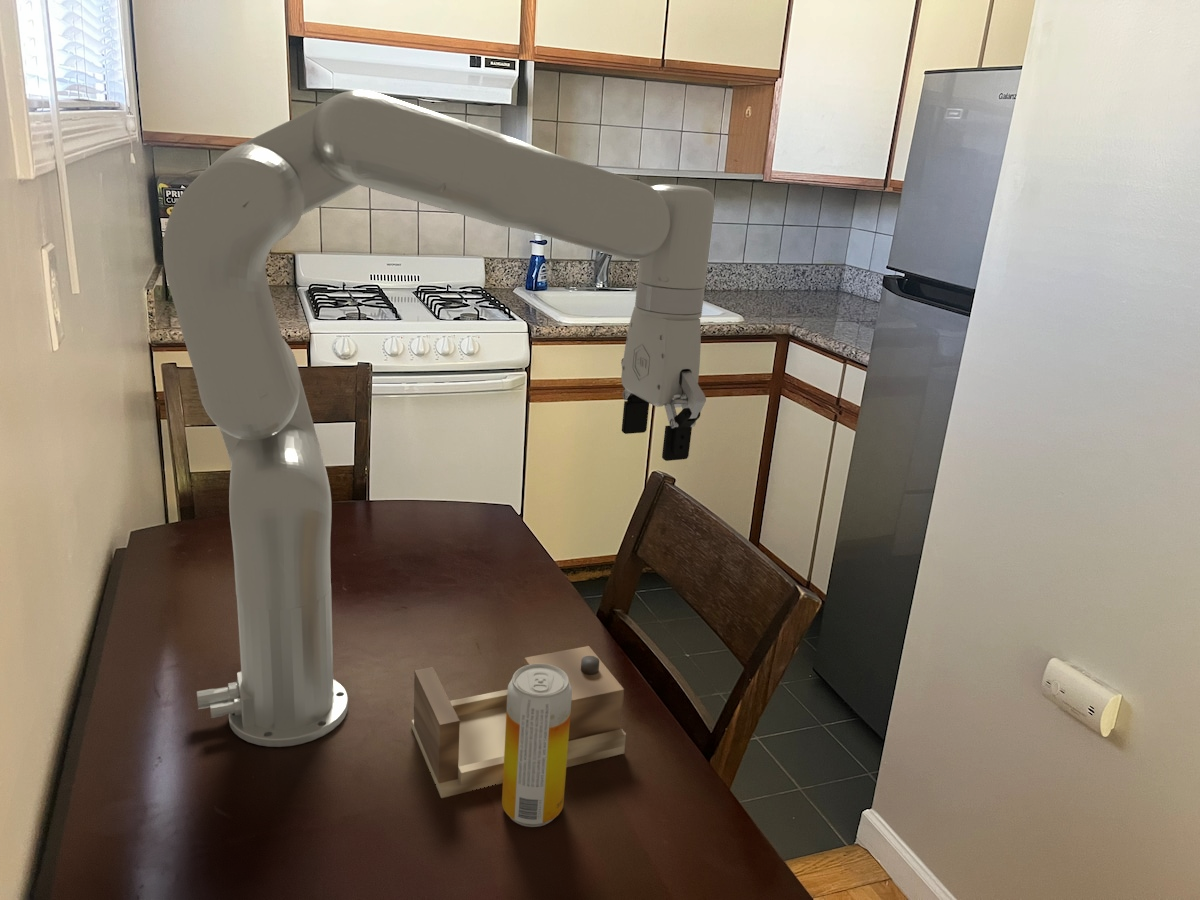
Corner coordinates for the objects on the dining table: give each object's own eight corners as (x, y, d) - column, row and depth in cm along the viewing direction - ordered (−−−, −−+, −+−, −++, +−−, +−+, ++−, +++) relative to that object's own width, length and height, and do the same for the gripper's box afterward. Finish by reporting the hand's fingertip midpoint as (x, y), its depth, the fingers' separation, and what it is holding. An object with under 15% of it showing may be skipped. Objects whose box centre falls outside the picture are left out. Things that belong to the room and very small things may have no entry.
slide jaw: (552, 751, 95) (556, 693, 93) (522, 702, 103) (525, 648, 101) (619, 735, 98) (625, 679, 96) (585, 689, 106) (589, 636, 104)
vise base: (441, 798, 89) (442, 730, 86) (411, 727, 99) (412, 665, 97) (624, 753, 98) (630, 690, 95) (579, 692, 108) (584, 634, 105)
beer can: (563, 789, 92) (572, 662, 87) (562, 832, 86) (573, 699, 81) (503, 786, 91) (510, 659, 86) (499, 829, 86) (506, 696, 81)
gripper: (604, 286, 105) (592, 425, 111) (680, 316, 91) (663, 473, 96) (659, 287, 108) (645, 421, 114) (741, 315, 94) (721, 467, 99)
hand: (653, 445), depth 105 cm, fingers open, 9 cm apart
